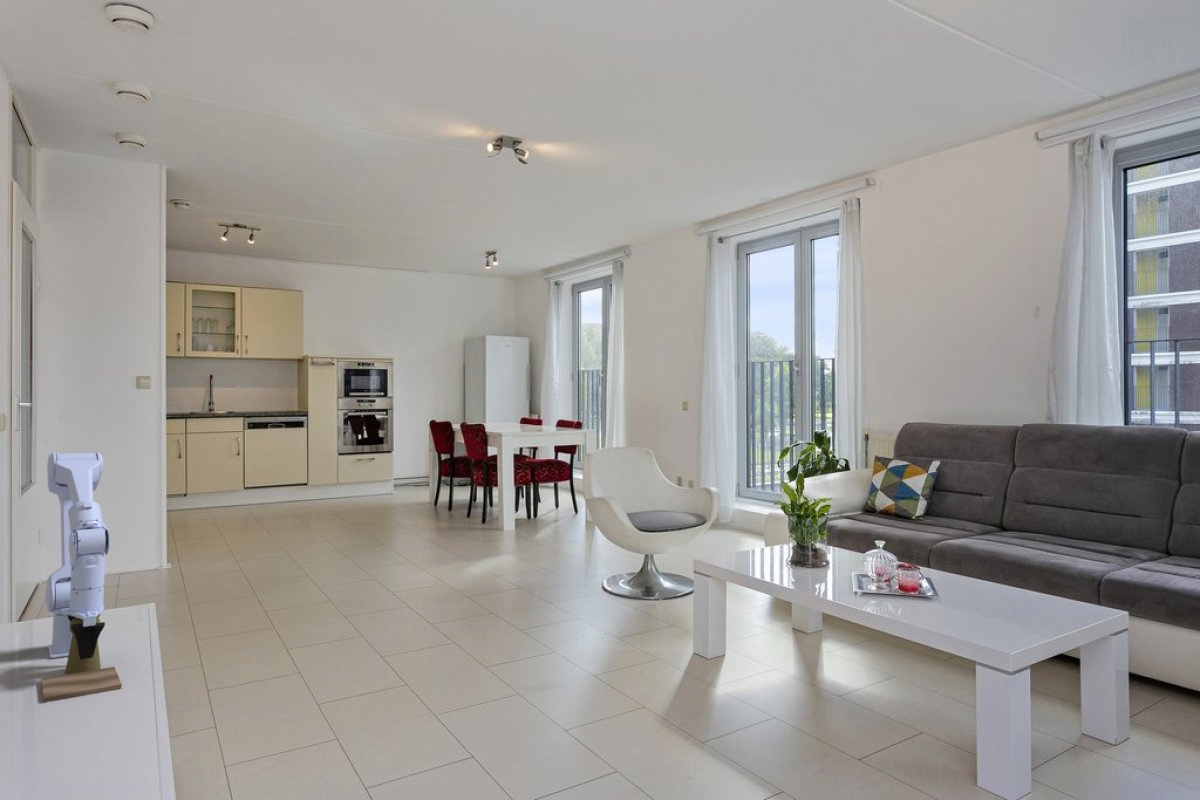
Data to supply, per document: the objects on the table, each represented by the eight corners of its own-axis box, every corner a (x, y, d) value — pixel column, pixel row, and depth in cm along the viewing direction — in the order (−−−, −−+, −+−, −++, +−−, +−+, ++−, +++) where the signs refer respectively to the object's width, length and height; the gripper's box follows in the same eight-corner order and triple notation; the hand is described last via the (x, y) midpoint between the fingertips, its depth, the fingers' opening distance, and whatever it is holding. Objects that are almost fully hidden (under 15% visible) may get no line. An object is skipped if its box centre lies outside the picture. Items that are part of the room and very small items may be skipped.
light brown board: (41, 682, 143) (41, 678, 143) (114, 670, 151) (114, 666, 151) (43, 702, 134) (43, 698, 134) (121, 688, 142) (121, 684, 142)
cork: (82, 676, 147) (84, 621, 147) (57, 673, 148) (59, 619, 149) (108, 666, 153) (110, 613, 153) (83, 663, 154) (86, 611, 155)
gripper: (61, 582, 154) (58, 647, 154) (65, 596, 143) (62, 666, 143) (101, 578, 159) (99, 641, 159) (109, 592, 148) (106, 659, 147)
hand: (84, 653), depth 151 cm, fingers open, 7 cm apart
